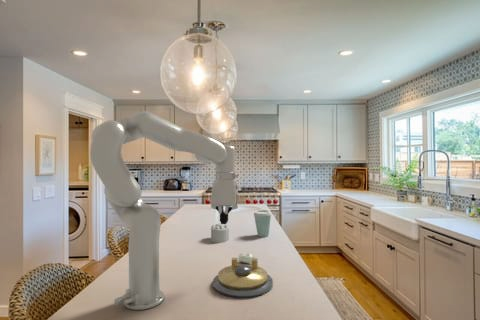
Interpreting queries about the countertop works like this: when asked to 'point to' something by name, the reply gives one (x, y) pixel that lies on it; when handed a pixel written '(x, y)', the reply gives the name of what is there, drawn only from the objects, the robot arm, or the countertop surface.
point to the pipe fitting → (245, 258)
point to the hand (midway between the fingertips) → (223, 223)
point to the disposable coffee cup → (262, 222)
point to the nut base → (243, 294)
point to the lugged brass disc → (242, 276)
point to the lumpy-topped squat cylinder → (219, 233)
